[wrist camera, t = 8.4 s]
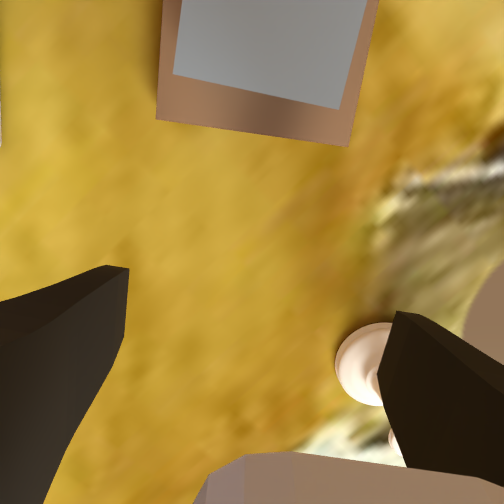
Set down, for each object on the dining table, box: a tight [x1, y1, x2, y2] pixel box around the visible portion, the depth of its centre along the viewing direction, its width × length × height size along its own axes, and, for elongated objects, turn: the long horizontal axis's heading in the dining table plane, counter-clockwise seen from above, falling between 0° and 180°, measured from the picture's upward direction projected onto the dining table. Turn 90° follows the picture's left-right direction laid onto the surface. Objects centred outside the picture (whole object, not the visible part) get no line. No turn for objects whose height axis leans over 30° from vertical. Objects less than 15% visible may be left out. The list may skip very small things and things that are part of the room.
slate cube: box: [173, 0, 367, 110], centre depth 15 cm, size 5×5×5 cm
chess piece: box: [335, 323, 403, 457], centre depth 20 cm, size 5×5×10 cm
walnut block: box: [156, 0, 379, 147], centre depth 18 cm, size 8×8×2 cm
